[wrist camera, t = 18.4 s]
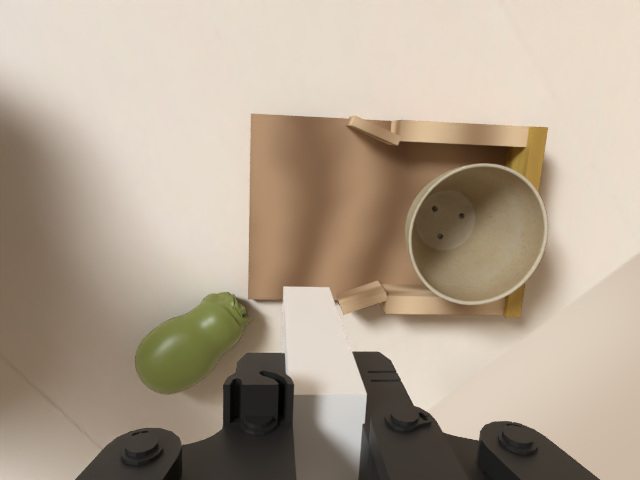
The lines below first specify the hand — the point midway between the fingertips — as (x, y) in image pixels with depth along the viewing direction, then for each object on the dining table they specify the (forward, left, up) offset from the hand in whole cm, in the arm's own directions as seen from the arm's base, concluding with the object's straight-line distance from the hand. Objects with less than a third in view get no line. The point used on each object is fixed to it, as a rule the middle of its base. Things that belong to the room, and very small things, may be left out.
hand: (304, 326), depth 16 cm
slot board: (+8, 0, -24) cm, 26 cm away
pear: (-7, -11, -25) cm, 28 cm away
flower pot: (+13, 0, -24) cm, 27 cm away
